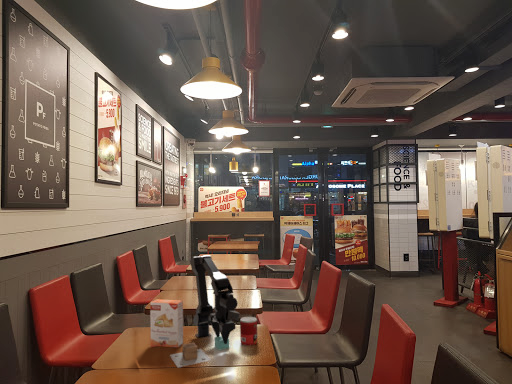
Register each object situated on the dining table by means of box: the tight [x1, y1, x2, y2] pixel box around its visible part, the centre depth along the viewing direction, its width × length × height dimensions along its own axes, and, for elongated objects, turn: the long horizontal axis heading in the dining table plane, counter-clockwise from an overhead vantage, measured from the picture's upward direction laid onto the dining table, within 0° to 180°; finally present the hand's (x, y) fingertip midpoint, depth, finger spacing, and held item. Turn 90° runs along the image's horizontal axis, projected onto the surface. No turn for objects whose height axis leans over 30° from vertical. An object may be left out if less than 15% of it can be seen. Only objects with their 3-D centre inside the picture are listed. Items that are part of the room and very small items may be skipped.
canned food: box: [239, 316, 258, 346], centre depth 171 cm, size 8×8×11 cm
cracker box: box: [149, 298, 184, 348], centre depth 169 cm, size 14×6×21 cm, turn 76°
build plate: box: [169, 348, 212, 369], centre depth 153 cm, size 14×14×1 cm
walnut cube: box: [181, 342, 198, 361], centre depth 153 cm, size 5×5×5 cm
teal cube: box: [214, 335, 230, 351], centre depth 164 cm, size 5×5×5 cm
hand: (221, 340), depth 164 cm, fingers open, 9 cm apart
